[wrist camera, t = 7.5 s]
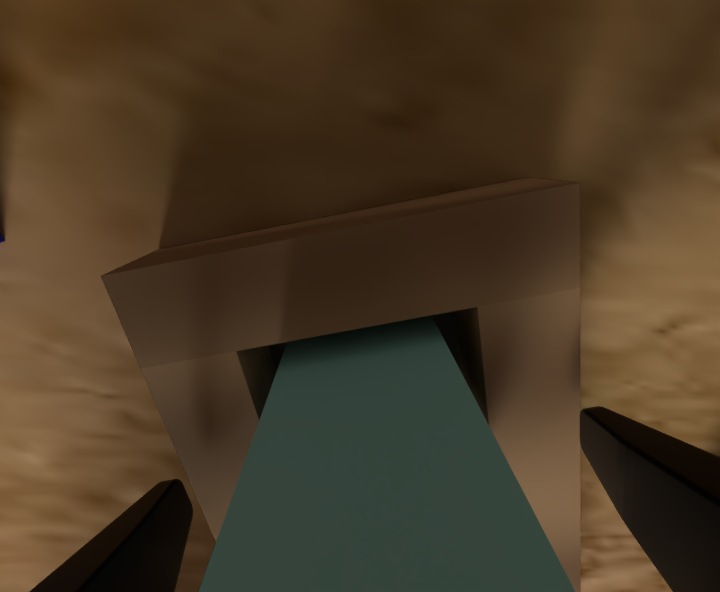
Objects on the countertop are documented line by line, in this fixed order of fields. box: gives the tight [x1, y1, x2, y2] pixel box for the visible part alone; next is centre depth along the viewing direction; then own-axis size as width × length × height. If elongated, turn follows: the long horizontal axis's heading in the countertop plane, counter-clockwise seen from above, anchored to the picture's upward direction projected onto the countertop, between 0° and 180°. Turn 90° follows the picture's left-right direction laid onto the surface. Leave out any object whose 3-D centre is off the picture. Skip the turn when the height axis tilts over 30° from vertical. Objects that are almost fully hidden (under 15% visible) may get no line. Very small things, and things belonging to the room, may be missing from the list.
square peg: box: [199, 315, 575, 592], centre depth 8 cm, size 4×4×8 cm
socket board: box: [101, 177, 580, 592], centre depth 12 cm, size 16×10×2 cm, turn 11°
